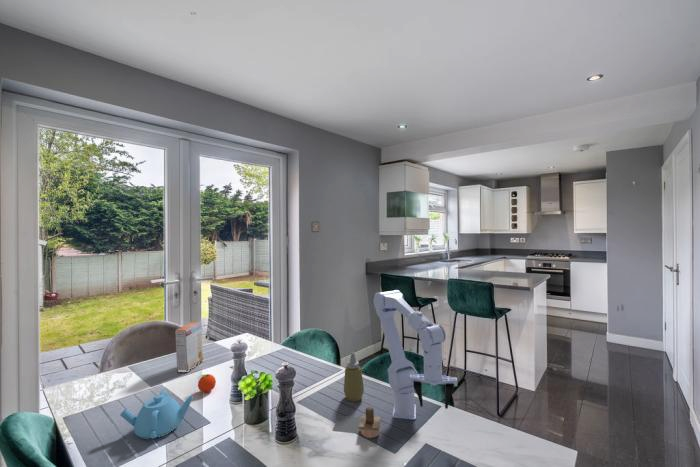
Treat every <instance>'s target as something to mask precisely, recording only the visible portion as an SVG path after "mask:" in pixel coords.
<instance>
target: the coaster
mask: <svg viewBox="0 0 700 467" xmlns="http://www.w3.org/2000/svg"><path fill="white" fill-rule="evenodd" d="M360 420H361V416H360V417H358V416H347V415H338V416H337V419H336V421H335V423H334V426H333V428H332V430H331V431H332V432H341V433H350V434H360V432H361V431H360V429H359V424H360Z"/></svg>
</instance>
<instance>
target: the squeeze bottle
mask: <svg viewBox="0 0 700 467" xmlns="http://www.w3.org/2000/svg"><path fill="white" fill-rule="evenodd" d="M355 354H356V353H355V352H351V354H350V360H348V361H347V362H346V365H347V366H346V367H345V368H344V369H345V370H344V381H343V382H344V383H343V392H344V395H345V399H346V400H347V401H348V402H352V403H353V402H355V403H356V402H359V401H361V399H362V398H363V394H364V391H365V388H364V379H363V371H362V367H361V366H360V362H359V361H358V360H356V355H355Z"/></svg>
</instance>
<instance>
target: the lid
mask: <svg viewBox="0 0 700 467" xmlns="http://www.w3.org/2000/svg"><path fill="white" fill-rule="evenodd" d="M374 409H375V408H373V407H371V406H369V407H366V408H365V415H361V416H360V417H361V420H360V424H359V429H363V430H376V431H379V427H380V426H381V425H380V424H381V416H377V415H374V411H375V410H374ZM379 432H380V431H379Z"/></svg>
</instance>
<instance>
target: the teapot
mask: <svg viewBox="0 0 700 467" xmlns="http://www.w3.org/2000/svg"><path fill="white" fill-rule="evenodd" d="M193 397H194V396H193V395H192V396H187V398H186V400H184V402H183V404H182V405H180V404H179V402H178V401H177V400H176V399H175V398H174V397H173V396H171V395H168V394H167V391H166V390H161V391H160V393H159V394H157V395H155V396H153V397H152V398H150V399H148V400H146V402H145V403H144V404H142V407H141V408H140V410H139V412H138V414H136V415H137V416H136V415H134V414H133V413H132V412H131V411H130V410H129V409H127V408H124V410H123V411H122V412H121V413H120V414H119V416H120V417H121V418H123V419H124V420H125V421H126V422H127V423H129V424H130V425H131V426H132V427H133V432H134V434H135V435H136V436H138V437H139V438H141V437H142V438H141V439H143V438H152V439H151V440H154V438H155V439H157V438H156V437H159V436H162V435H165V434H167V433H169V434H171V433H172V432H173V430H174V429H175V428H176V429H177V428H178V427H179V425H180V424H181V422H182V421H183V419H184V418H185V416H186V413H187V412H188V409H189V407H190V405H191V403H192V400H193ZM176 429H175V430H176ZM175 430H174V431H175ZM171 431H172V432H171ZM170 432H171V433H170ZM167 435H168V434H167ZM165 436H166V435H165ZM162 437H163V436H162ZM159 438H160V437H159Z"/></svg>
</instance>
